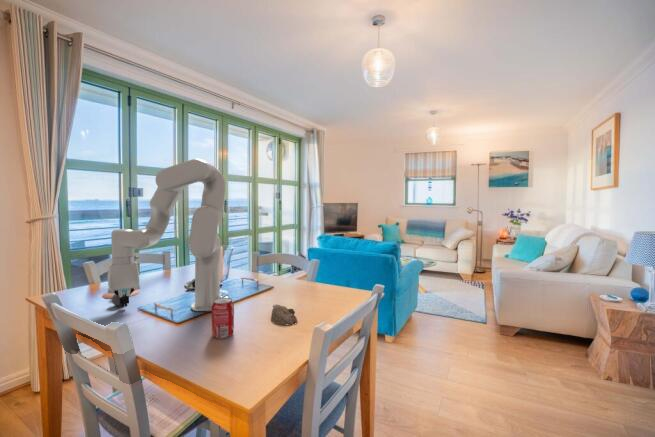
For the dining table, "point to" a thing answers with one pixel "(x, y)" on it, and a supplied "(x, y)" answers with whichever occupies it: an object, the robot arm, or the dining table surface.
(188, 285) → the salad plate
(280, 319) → the oyster shell
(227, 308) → the soda can
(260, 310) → the dining table surface
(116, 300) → the grey rounded lump
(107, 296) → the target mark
